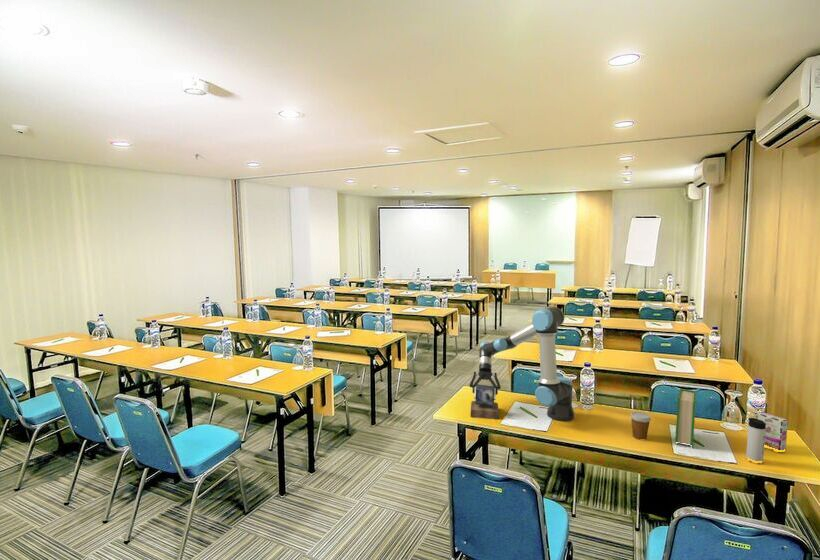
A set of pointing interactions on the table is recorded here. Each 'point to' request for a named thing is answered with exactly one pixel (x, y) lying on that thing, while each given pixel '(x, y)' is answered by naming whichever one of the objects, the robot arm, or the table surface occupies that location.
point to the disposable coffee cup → (640, 424)
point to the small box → (484, 395)
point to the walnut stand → (484, 411)
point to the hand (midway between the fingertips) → (484, 398)
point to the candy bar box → (774, 430)
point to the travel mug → (756, 439)
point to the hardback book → (685, 416)
